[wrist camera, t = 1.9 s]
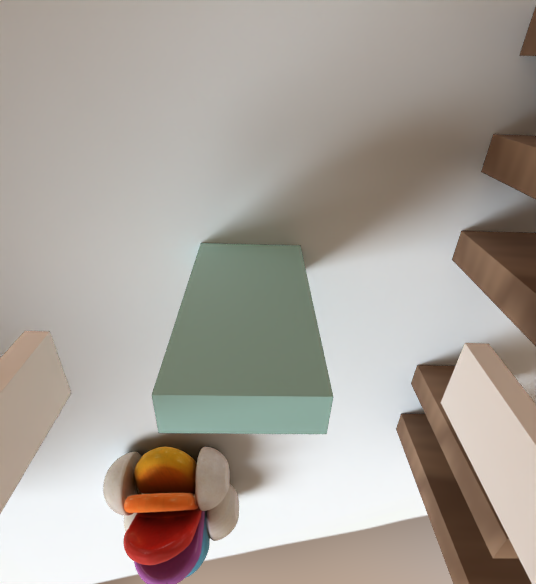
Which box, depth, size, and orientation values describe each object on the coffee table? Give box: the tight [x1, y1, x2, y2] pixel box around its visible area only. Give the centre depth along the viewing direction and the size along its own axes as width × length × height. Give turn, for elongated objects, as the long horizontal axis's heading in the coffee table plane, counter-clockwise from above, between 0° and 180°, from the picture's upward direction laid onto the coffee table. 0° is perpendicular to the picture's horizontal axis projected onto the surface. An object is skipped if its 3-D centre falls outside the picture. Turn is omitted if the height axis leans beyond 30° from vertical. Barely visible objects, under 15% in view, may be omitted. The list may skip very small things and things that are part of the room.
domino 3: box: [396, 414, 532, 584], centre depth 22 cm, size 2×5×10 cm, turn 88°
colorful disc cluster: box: [103, 447, 239, 584], centre depth 26 cm, size 8×10×7 cm
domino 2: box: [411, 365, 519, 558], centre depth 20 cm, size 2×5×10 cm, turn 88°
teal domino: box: [152, 243, 333, 434], centre depth 15 cm, size 2×5×10 cm, turn 88°
